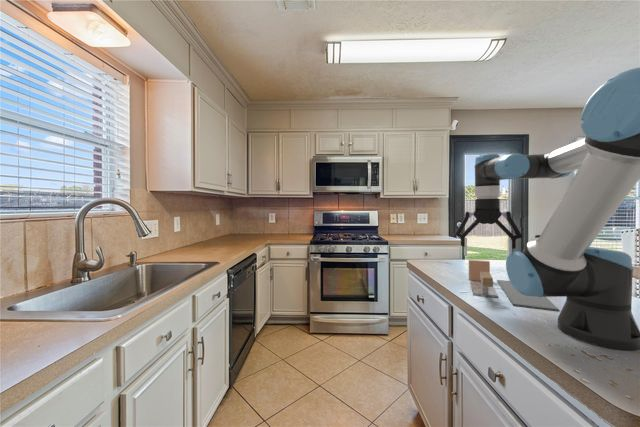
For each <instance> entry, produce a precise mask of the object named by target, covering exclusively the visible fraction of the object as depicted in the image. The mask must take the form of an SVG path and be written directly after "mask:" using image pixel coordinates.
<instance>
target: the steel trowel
mask: <svg viewBox="0 0 640 427" xmlns="http://www.w3.org/2000/svg"><path fill="white" fill-rule="evenodd" d="M480 280H481V281H473V280H469V284H470V288H471V289H470V290H471V293H472V295H473V296H478V297H487V298H493V299H494V298H496V299H498V298H499V295H498V292H497V291H496V289H495V287H494V278H493V276H492V275H491V272H490V273H489V272H480Z"/></svg>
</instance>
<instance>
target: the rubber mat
mask: <svg viewBox="0 0 640 427" xmlns="http://www.w3.org/2000/svg"><path fill="white" fill-rule="evenodd" d="M496 281H497V283H498V285H499V286H500V288H501V290H502V291H503V293H504V294H505V296H506V297H507V298H508V300H509V302H510V303H511V305H512V306H514V307H521V308H528V309H529V308H531V309H537V310H546V311H547V310H548V311H554V312H556V311H557V312H559V311H560V309H559V308H558V307H557V306H556V305H555V304H554V303H553V302H552V301H551V300H550V299H549V298H548V297H535V296H526V295H523V294H521V293H520V292H518V291H517V290H516V289H515V288H514V286H513V285H512V283H511V282H510V280H505V279H504V280H501V279H496Z"/></svg>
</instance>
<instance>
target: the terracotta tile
mask: <svg viewBox="0 0 640 427" xmlns="http://www.w3.org/2000/svg"><path fill="white" fill-rule="evenodd" d="M490 263H491V262H490V260H482V259H481V260H478V259H468V280H469V281H474V282H481V280H480V272H489V273H490V274H491V272H490V271H491V269H490V268H491V267H490V265H491V264H490Z"/></svg>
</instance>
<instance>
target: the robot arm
mask: <svg viewBox="0 0 640 427" xmlns="http://www.w3.org/2000/svg"><path fill="white" fill-rule="evenodd" d="M580 115H581V116H580V121H582V122H581V124H580V127H581V130H582V132H583V133H584V135H585V137H584V138H583V137H582V138H581V139H579V140H576V141H574V142H572V143H569V144H566V145H565V146H562V147H559V148H557V149H555V150H552V151H550V152H548V153H542V154H522V153H519V152H518V153H517V152H516V153H508V154H505V155H502V156H500V154H498V153H486V154H480V155H477V157H475V161H474V162H475V163H474V197H475V198H476V199H475V200H474V212H472V211H465V212H464V213H465V214H464V218H463V220H462V221H461V223H460V224H459V226H458V228H457V230H456V231H455V236H456V237H458V238H460V246H461V247H463V254H464V256H465V257H467V256H468V238H467V236H468V235H469V234H470V233H471V232H472V231H473V230H474V228H476V227H477V226H478V225H479V224H482V225H486V224H489V225H494V224H495V225H497V226H498V227H499V228H500V230H502V231H503V232H504V233H505V234H506V235H507V236H508V237H509V238H507V257H506V261H505V268H506V274H507V277H508V279H509V280H508V281H510V282H511V283H512V285H513V286H514V288H515V289H516V290H517V291H518V292H520V293H521V294H523V295H526V296H535V297H546V298H551V297H554V298H555V297H560V298H561V297H566V300H565V302H564V304H563V306H562V308H561V310H560V313H559V315H558V317H557V327H558V329H559V330H560V331H562V332H563V333H565V334H566V335H567V336H570V337H572V338H575V339H576V340H580V341H582V342H585V343H589V344H592V345H594V346H595V345H596V346H599V347H604V348H609V349H615V350H623V351H635V350H639V349H640V328H639V326H638V324H637V322H636V318H635V317H634V316H633V311H632V300H633V297H632V296H633V274H634V273H633V272H634V268H633V262H632V261H633V260H632V256H631V255H629V254H628V253H627V252H624V251H620V250H616V249H615V250H614V249H608V248H602V247H594V246H591V245H592V244H593V242H594V241H595V240H596V238H597V237H598V236H599V234H600V232H601V231H602V230H603V229H604V227H605V226H606V225H607V224H608V222H609V221H610V219H612V216H614V214H615V213H616V212H617V210H618V209H619V208H620V206H621V204H622V203H623V202H624V200H625V199H626V198H627V197H628V195H629V194H630V193H631V191H632V190H633V189H634V187H635V186H636V185H637V183H638V182H639V181H640V67H635V68H631V69H630V68H629V69H628V70H624V71H623V72H620V73H618V74H617V75H615V76H614V77H612V78H610V79H608V80H606V81H605V82H604V83H603V84H601V85H600V86H599V87H598V88H597V89H596V90H595V91H594V92H593V93H592V95H590V97H589V99H587V101H586V103H585V105H584V107H583V110H582V111H581V114H580ZM574 171H576V173H575V175H574V177H573V178H572V180H571V181H570V183H569V185H568V186H567V188H566V191H565V192H564V194H563V196H562V197H561V199H560V201H559V202H558V204H557V206H556V208H555V209H554V211H553V213H552V215H551V216H550V218H549V219H548V222H547V223H546V224H545V226H544V229H543V230H542V231H541V233H540V234H539V235H540V237H538V238H535V237H534V238H531V239H530V240H529V241H527V243H526V245H525V247H524V248H523V250H522V251H520V250H517V251H516V250H515V249H516V245H517V244H516V242H517V240H519V239H522V238H523V234H522V233H521V231H520V230H519V228H518V227H517V225H516V223H515V222H514V220H513V217H512V213H511V211H502V212H501V210H500V208H501V207H500V206H501V205H500V203H501V202H500V201H501V199H500V198H499V197H501V196H500V195H501V192H500V191H501V190H500V189H501V188H500V186H501V184H500V183H501V181H502V180H522V179H524V180H525V179H526V180H527V179H558V178H565V177H568V176H569V175H570V174H571V173H573V172H574ZM472 216H474V218H475V220H474V221H473V222H472V223H471V224H470V225H469V226H468V227H467V228H466V229H465V230H464V228H465V226H466V225H467V222H468V221H469V218H472ZM501 216H502V217H503V218H504V219H506V221H507V223H508V224H509V226H510V227H511V230H512V231H513V232H514V234H513V233H512V232H511V231H510V230H509V229H508V228H507V227H506V226H505V225H504V224H503V223H502V221H500V220H499V219H500V217H501ZM463 230H464V231H463ZM462 231H463V232H462ZM513 250H515V251H513Z"/></svg>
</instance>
